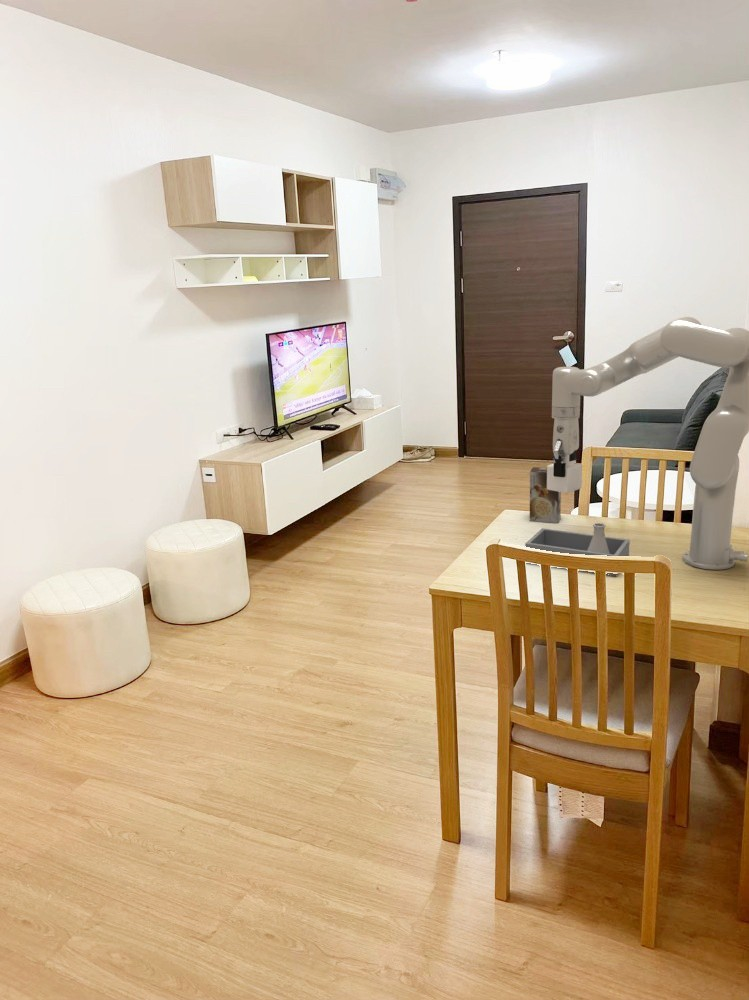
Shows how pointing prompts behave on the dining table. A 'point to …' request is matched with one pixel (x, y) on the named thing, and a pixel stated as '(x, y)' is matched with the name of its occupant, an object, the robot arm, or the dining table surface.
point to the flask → (598, 539)
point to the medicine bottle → (566, 476)
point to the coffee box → (543, 498)
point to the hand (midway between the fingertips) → (564, 472)
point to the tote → (575, 544)
